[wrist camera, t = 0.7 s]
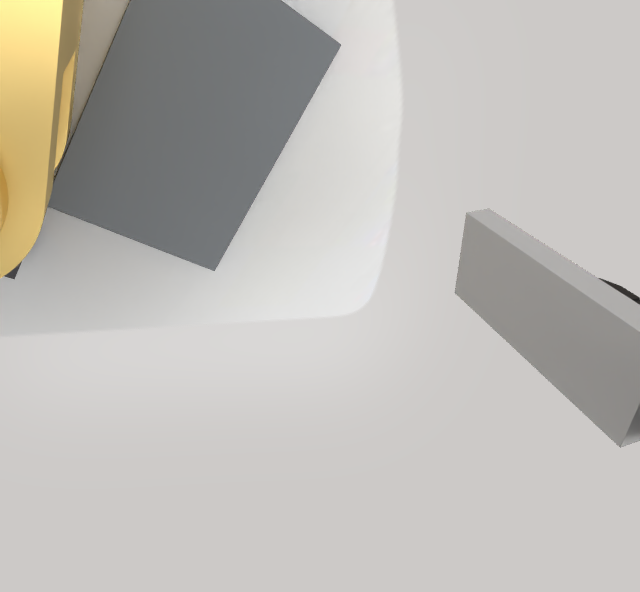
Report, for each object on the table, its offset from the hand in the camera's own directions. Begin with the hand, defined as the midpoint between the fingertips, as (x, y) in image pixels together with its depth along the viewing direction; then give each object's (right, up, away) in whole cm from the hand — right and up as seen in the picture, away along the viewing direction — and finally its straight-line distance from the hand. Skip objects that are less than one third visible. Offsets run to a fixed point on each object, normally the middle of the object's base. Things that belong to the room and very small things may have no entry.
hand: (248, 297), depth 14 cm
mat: (-6, +12, +20) cm, 24 cm away
